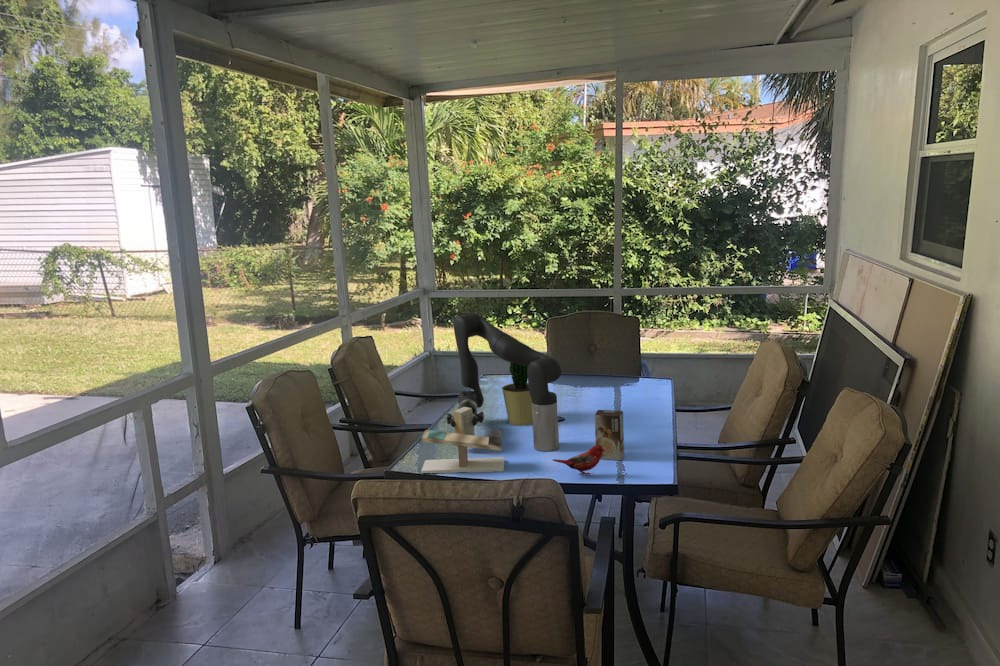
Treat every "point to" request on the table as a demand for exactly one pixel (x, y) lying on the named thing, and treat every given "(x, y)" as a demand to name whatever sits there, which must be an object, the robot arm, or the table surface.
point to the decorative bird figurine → (584, 459)
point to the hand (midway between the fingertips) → (463, 424)
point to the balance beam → (464, 439)
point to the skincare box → (464, 421)
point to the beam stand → (463, 464)
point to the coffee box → (610, 433)
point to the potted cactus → (518, 396)
